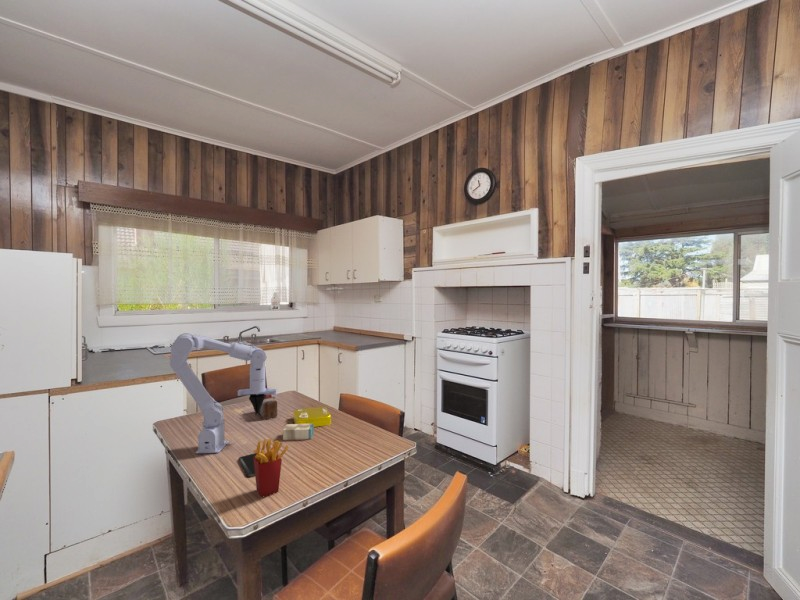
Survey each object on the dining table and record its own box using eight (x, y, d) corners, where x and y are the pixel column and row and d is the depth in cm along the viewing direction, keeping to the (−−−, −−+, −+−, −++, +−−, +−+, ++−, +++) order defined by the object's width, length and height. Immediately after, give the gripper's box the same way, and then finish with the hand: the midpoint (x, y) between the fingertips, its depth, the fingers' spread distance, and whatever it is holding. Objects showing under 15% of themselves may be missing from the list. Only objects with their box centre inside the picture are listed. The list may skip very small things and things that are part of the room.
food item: (255, 412, 169) (255, 392, 169) (272, 409, 174) (272, 389, 174) (262, 420, 158) (262, 399, 158) (280, 417, 163) (280, 396, 163)
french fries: (258, 500, 97) (258, 447, 97) (251, 487, 104) (251, 437, 104) (289, 490, 103) (289, 439, 102) (280, 478, 109) (281, 430, 109)
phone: (248, 475, 109) (238, 457, 121) (248, 479, 109) (238, 460, 121) (274, 468, 114) (261, 451, 126) (274, 472, 114) (261, 454, 126)
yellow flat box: (332, 425, 154) (332, 415, 154) (296, 430, 148) (296, 419, 148) (325, 414, 168) (325, 404, 168) (293, 419, 162) (293, 408, 162)
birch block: (282, 440, 138) (311, 439, 139) (282, 430, 138) (311, 429, 139) (286, 433, 144) (313, 433, 145) (286, 424, 144) (313, 423, 145)
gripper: (279, 376, 142) (279, 409, 142) (242, 376, 141) (242, 410, 141) (274, 380, 135) (274, 415, 135) (235, 381, 134) (235, 416, 134)
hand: (257, 413), depth 138 cm, fingers closed
